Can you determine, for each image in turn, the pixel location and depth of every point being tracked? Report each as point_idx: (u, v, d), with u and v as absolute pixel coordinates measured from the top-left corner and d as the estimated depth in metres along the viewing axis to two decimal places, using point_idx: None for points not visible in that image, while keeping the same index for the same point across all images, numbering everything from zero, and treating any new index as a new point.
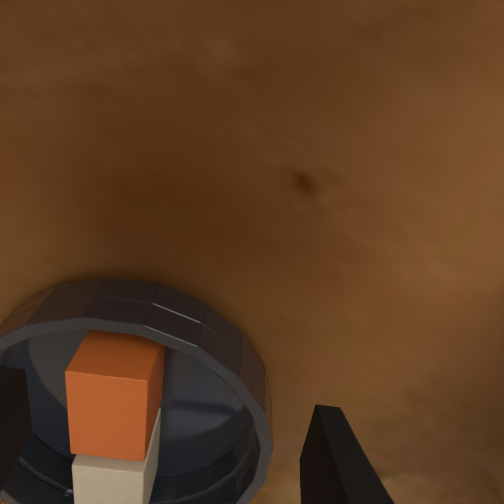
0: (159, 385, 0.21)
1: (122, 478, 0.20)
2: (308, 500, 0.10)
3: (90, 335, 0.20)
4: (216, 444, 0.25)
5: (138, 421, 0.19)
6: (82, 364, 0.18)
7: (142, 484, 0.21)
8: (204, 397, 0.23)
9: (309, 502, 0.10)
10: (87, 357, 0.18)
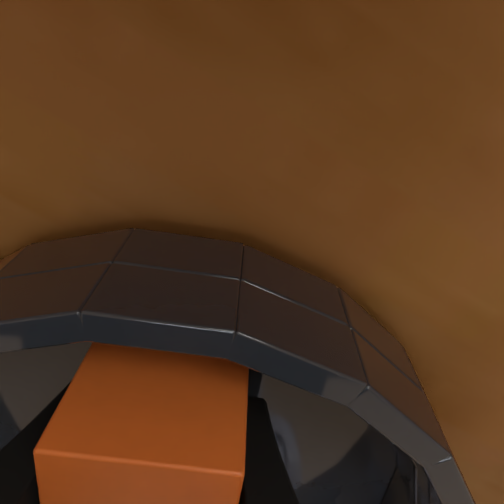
0: None
1: None
2: None
3: (97, 353, 0.09)
4: None
5: None
6: (78, 428, 0.07)
7: None
8: (305, 462, 0.13)
9: None
10: (90, 409, 0.08)
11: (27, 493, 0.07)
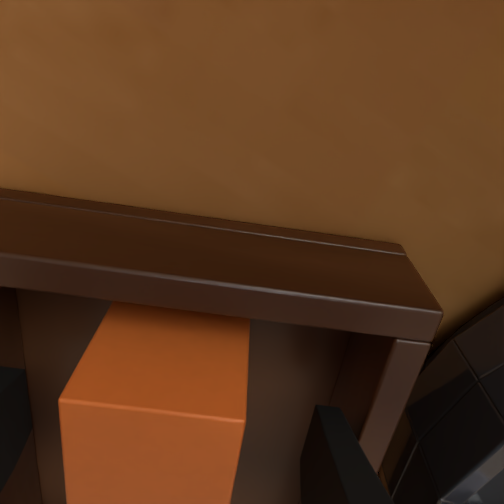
0: None
1: None
2: (308, 500, 0.10)
3: (112, 321, 0.10)
4: None
5: (214, 501, 0.09)
6: (97, 382, 0.08)
7: None
8: None
9: (309, 502, 0.10)
10: (107, 367, 0.08)
11: None
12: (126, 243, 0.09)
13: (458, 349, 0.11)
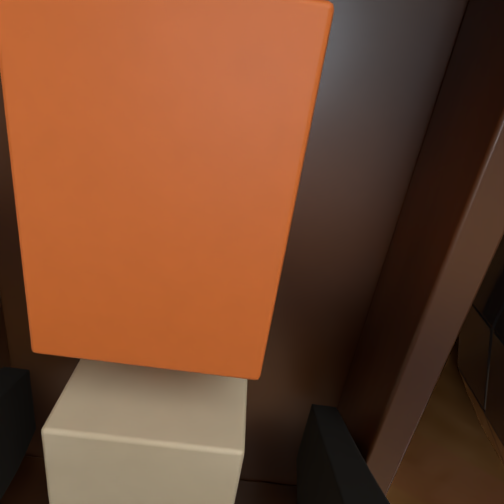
0: None
1: (184, 469, 0.07)
2: (304, 500, 0.10)
3: None
4: None
5: (265, 219, 0.05)
6: None
7: (236, 484, 0.08)
8: None
9: (305, 502, 0.10)
10: None
11: None
12: None
13: None
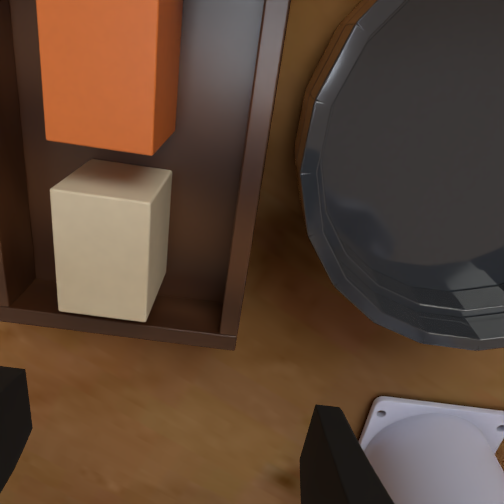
0: (172, 81, 0.15)
1: (121, 214, 0.15)
2: (308, 500, 0.10)
3: None
4: None
5: (144, 66, 0.13)
6: None
7: (148, 225, 0.15)
8: None
9: (309, 502, 0.10)
10: None
11: None
12: None
13: (340, 25, 0.15)
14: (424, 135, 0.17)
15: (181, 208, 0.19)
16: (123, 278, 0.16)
